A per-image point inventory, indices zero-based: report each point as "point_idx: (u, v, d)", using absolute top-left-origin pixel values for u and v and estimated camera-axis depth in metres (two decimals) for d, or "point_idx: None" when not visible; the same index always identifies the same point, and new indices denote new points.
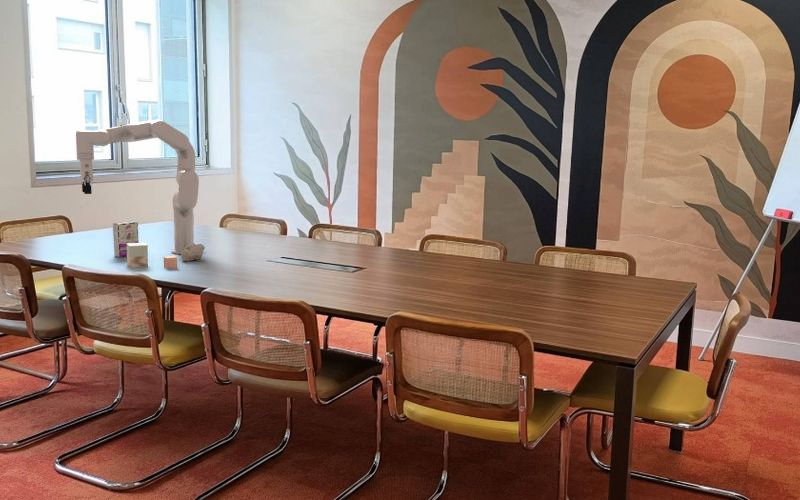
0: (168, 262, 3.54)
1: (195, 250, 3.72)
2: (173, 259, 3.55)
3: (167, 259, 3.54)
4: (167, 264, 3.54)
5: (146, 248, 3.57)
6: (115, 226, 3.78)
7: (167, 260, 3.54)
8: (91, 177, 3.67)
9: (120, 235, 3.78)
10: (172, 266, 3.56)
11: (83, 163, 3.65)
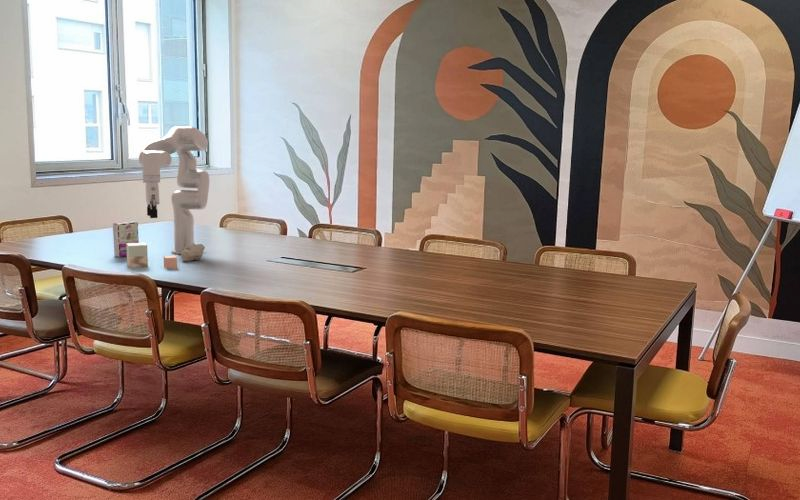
0: (168, 262, 3.54)
1: (195, 250, 3.72)
2: (173, 259, 3.55)
3: (167, 259, 3.54)
4: (167, 264, 3.54)
5: (146, 248, 3.57)
6: (115, 226, 3.78)
7: (167, 260, 3.54)
8: (157, 200, 3.53)
9: (120, 235, 3.78)
10: (172, 266, 3.56)
11: (149, 186, 3.51)
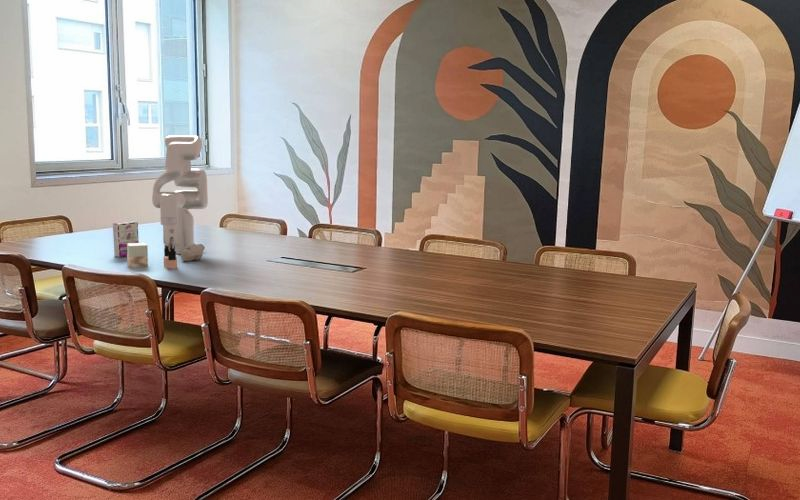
0: (168, 262, 3.54)
1: (195, 250, 3.72)
2: None
3: (167, 259, 3.54)
4: (167, 264, 3.54)
5: (146, 248, 3.57)
6: (115, 226, 3.78)
7: (167, 260, 3.54)
8: (176, 242, 3.52)
9: (120, 235, 3.78)
10: (172, 266, 3.56)
11: (168, 228, 3.50)
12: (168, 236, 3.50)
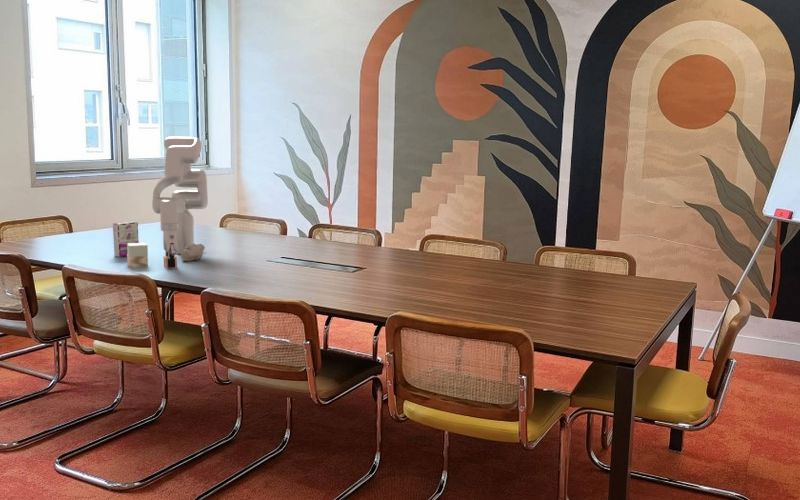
0: None
1: (195, 250, 3.72)
2: None
3: (167, 259, 3.54)
4: (167, 264, 3.54)
5: (146, 248, 3.57)
6: (115, 226, 3.78)
7: (167, 260, 3.54)
8: (176, 248, 3.53)
9: (120, 235, 3.78)
10: None
11: (168, 234, 3.51)
12: (168, 242, 3.51)
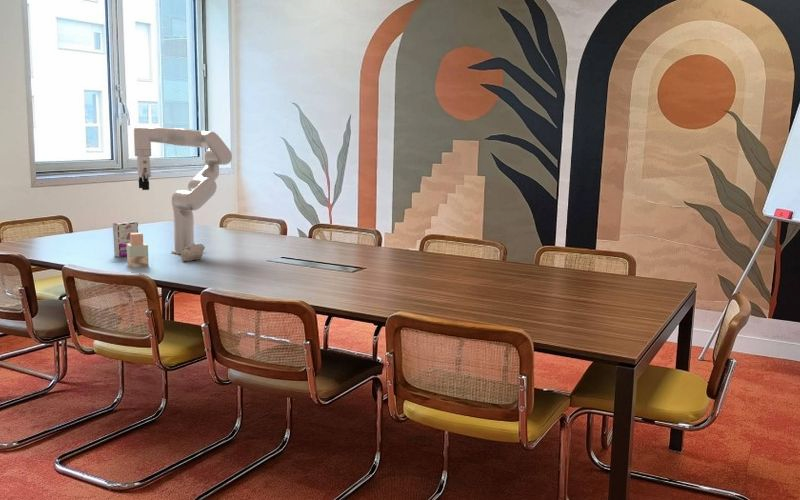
0: (134, 238, 3.56)
1: (195, 250, 3.72)
2: (139, 235, 3.56)
3: (133, 235, 3.55)
4: (133, 240, 3.56)
5: (146, 248, 3.57)
6: (115, 226, 3.78)
7: (133, 236, 3.55)
8: (149, 173, 3.71)
9: (120, 235, 3.78)
10: (138, 242, 3.57)
11: (141, 159, 3.69)
12: (141, 167, 3.69)
